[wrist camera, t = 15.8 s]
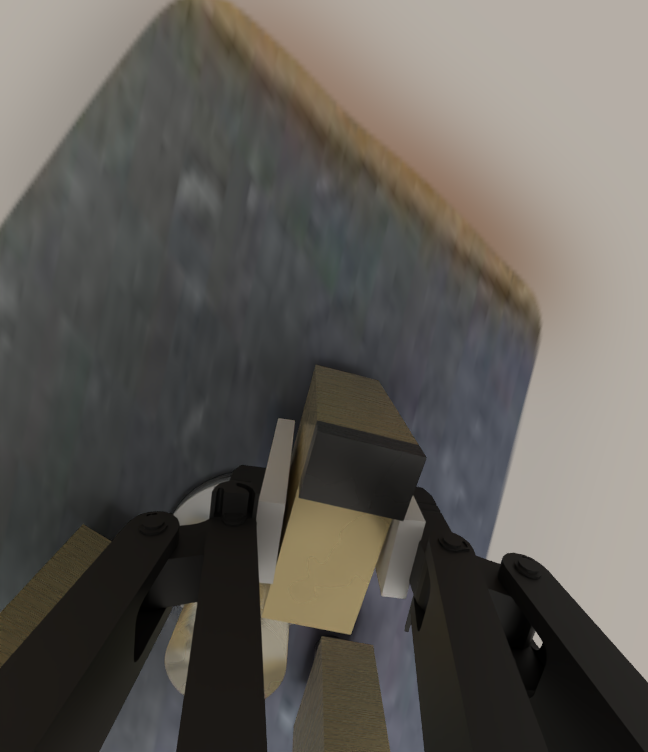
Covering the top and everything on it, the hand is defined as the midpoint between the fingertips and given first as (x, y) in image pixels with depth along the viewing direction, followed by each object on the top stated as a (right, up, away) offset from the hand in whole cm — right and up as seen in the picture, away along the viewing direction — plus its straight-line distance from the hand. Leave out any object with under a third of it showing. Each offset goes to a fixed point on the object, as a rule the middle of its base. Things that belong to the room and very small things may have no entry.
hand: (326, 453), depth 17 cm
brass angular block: (0, 0, +1) cm, 1 cm away
